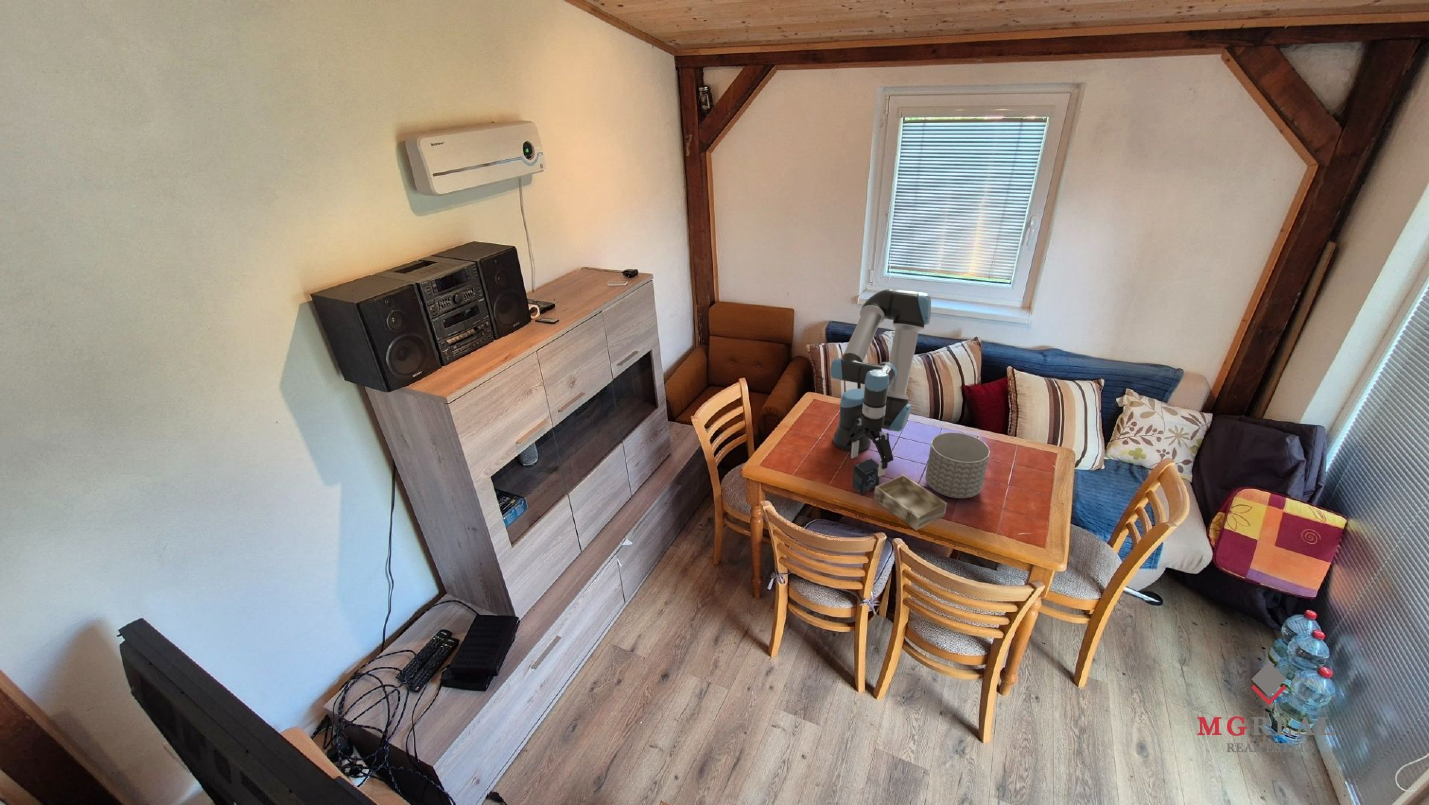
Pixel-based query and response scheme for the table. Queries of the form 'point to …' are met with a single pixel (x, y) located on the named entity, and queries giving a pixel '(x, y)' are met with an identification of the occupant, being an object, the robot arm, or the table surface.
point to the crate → (910, 501)
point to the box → (866, 476)
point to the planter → (957, 464)
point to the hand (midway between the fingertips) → (867, 465)
